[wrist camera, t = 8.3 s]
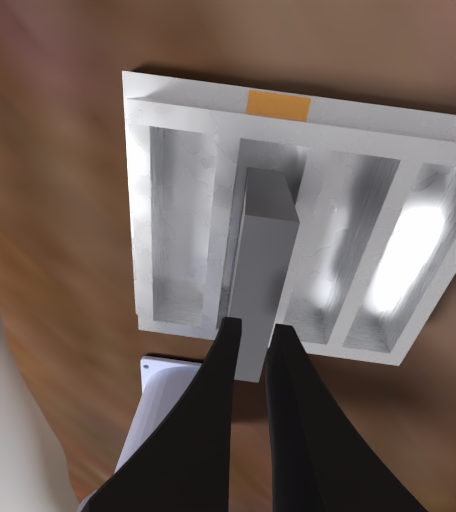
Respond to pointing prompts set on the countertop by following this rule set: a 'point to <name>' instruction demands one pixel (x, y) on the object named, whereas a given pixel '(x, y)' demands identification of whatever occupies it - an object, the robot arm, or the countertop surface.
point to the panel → (261, 264)
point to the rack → (306, 203)
